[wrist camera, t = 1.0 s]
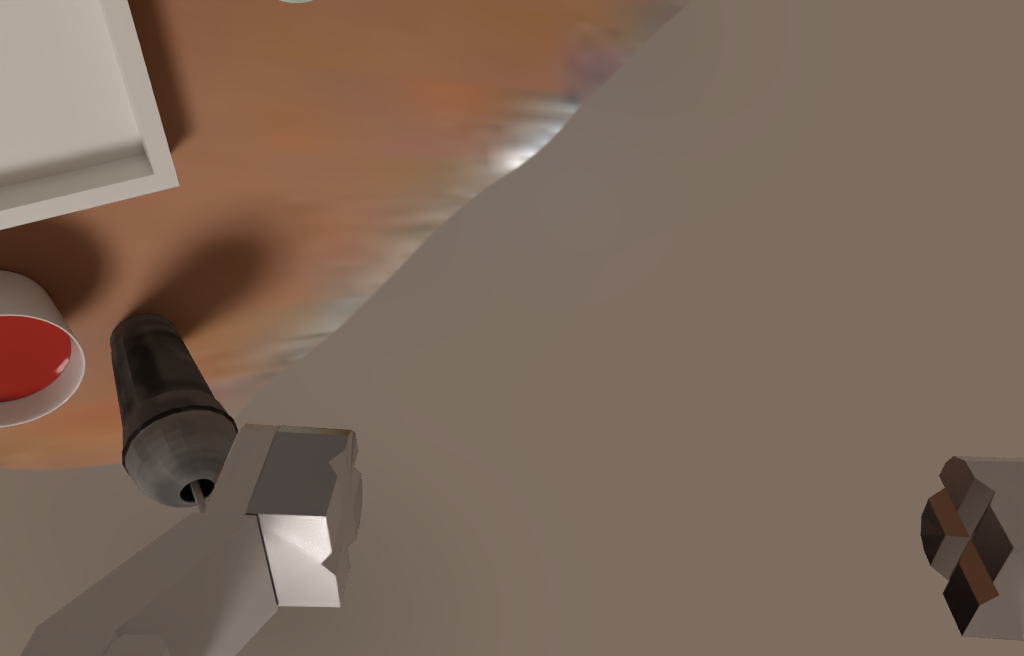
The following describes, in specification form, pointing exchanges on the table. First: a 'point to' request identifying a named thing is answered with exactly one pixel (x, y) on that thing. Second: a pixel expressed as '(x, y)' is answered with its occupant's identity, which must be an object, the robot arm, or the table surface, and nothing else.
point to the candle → (34, 352)
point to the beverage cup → (167, 414)
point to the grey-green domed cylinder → (296, 1)
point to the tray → (75, 110)
